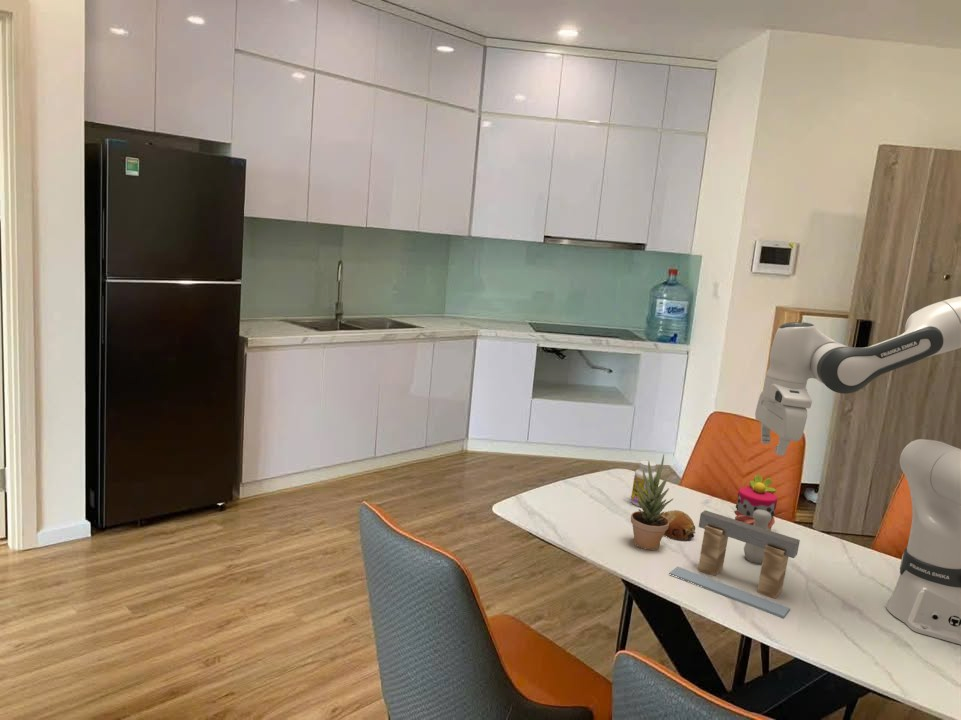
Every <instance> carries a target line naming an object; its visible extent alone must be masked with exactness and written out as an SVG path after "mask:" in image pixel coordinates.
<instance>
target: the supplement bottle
mask: <svg viewBox="0 0 961 720" xmlns="http://www.w3.org/2000/svg"><path fill="white" fill-rule="evenodd" d="M648 461H649V463H650V467H651V472H652V476H653V482H654V477H656V476H655V474H657V471H655V470H656V469H657V468H656V467H657V464H656V462H654V461H652V460H640V461H639V465H638V466H639V468H638V469H636V470H635V471H634V477H633V485H632V490H631V497H630V503H631V504H633V505H634V506H636V507H639V508H641V507H640V505H639V504H638V502H637V501H636V500H638V501H639V500H640V497H639V495H638V492H637V490H636V487H637V489H638V486H637V484H638V485H639V487H640V488H641V489H642V490H643V492H644V491H645V493H646V495H647V491H646V487H645V483H644V478H643V470H644V473H645V475H646V478H647V481H648V483H649V486H650V482H649V473H648ZM638 491H639V489H638ZM639 493H640V491H639ZM640 495H641V493H640ZM641 497H642V495H641ZM642 499H643V500H644V498H643V497H642ZM640 501H641V500H640ZM644 501H645V500H644ZM641 502H642V501H641Z"/></svg>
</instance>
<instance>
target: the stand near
mask: <svg viewBox="0 0 961 720" xmlns="http://www.w3.org/2000/svg"><path fill="white" fill-rule="evenodd" d="M784 552H785V551H783V550H780V549H777V548H774V547H771V546H768V545H766V546H765V551H764V556H763V562H762V563H761V566H760V567H761V568H760V573H759V574H760V575H759V580H758V584H757V589H756V592H757V593H758V594H761V595H764V596H767V597H770V598H772V599H776V598H777V597H778V596H779V594H780V593H781V592H782V591H783V587H784V584H785V583H784V582H785V578H786V572H787V566H788V560H789V557H788V556H785V555H784Z"/></svg>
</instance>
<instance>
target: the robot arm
mask: <svg viewBox="0 0 961 720" xmlns="http://www.w3.org/2000/svg"><path fill="white" fill-rule="evenodd" d="M776 330H777V331H776V333H775V335H774V338H773V341H772V345H771V348H770V353H769V367H768V370H767V371H766V374H765V378H764V384H763V388H762V391H761V393H760V394H759V397H758V401H757V404H756V408H755V414H754V417H755V420H757V421H759V422H760V432H761V433H760V435H761V436H760V442H761V443H762V444H766V445H769V444H770V443H771V439H772V437H771V431H772V432H773V433H774V434H776V435H778V436H779V437H778V444H777V445H775V450H774V454H776V455H777V456H781V457H783V456H785V455H786V451H787V449H788V447H789V446H790V444H791V441H792V442H799V441H800V440H801V439H802V437H803V435H804V431H805V428H806V423H807V418H808V409H810V408H811V407H812V405H813V404H812V403H813V401H812V398H811V396H810V394H809V392H808V389H807V383H808V380H809V379H814V380H817V381H818V382H820V383H822V384H823V385H824V386H826V388H827V389H829V390H831V391H832V392H835V393H838V394H852V393H856V392H857V391H860V390H861V389H863V388H865V387H866V386H867V385H868V384H870V383H871V382H872V381H873V380H875V379H877V378H878V377H880V376H881V375H883V374H887V373H888V372H892V371H894V370H896V369H897V370H898V369H900V368H902V367H905V366H907V365H910V364H913V363H916V362H918V361H921V360H924V359H926V358H929V357H932V356H937V355H941V354H944V353H947V352H952V351H955V350H957V349H961V295H960V296H956V297H952V298H948V299H944V300H941V301H938V302H935V303H932V304H929V305H927V306H924V307H922V308H920V309H919V310H916V311H915V312H913V313H911V314H910V315H909V317H908V318H907V320H906V323H905V326H904V332H903V333H902V334H900V335H897V336H895V337H892V338H888V339H886V340H884V341H880V342H878V343H875V344H872V345H869V346H865V347H854V346H853V347H852V346H849V345H845V344H843V343H840V342H838V341H836V340H834V339H832V338H831V337H829V336H827V335H826V334H825V333H823V332H822V331H820V330H819V329H818V328H817V327H816V326H815V324H813V323H810V322H806V321H805V322H804V321H803V322H801V321H799V322H797V321H795V322H793V321H792V322H787V323H783V324H782V325H779V327H778V328H777V329H776ZM899 456H900V457H899V466H900V469H901V471H902V473H903V474H904V476H905V479H906V480H907V484H908V488H909V491H910V498H911V507H912V509H911V510H912V519H911V520H912V521H911V526H910V531H909V537H908V543H907V546H906V547H905V549H904V551H903V553H902V556H901V560H900V565H899V576H898V580H897V582H896V585H895V587H894V588H893V589H894V590H893V592H892V594H891V596H890V597H889V599H888V600H887V602H886V604H885V607H886V609H887V611H888V613H890V614H891V615H892V616H894V617H895V618H897V619H898V620H900V621H901V622H903V623H904V624H906V626H907V627H909V629H910V630H912V631H913V632H916V633H917V634H922V635H925V636H929V637H932V638H936V639H939V640H943V641H946V642H950V643H953V644H956V645H957V644H958V645H960V646H961V448H959V447H956V446H953V445H951V444H948V443H946V442H943V441H940V440H933V439H925V438H924V439H923V438H918V439H915V440H912V441H910V442H909V443H908V444H907V445H906V446H904V448H903V449H902V451H901V453H900V455H899Z"/></svg>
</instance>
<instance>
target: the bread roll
mask: <svg viewBox="0 0 961 720" xmlns="http://www.w3.org/2000/svg"><path fill="white" fill-rule="evenodd" d="M662 516H664V517H666V518H667V519H668V520H669V527H668V529H667V530H666V531H665V533H664V535H665V537H666V536H667V537H666V538H668V537H669V538H668V539H672V540H677V541H689V539H690V540H692V539H693V538H694V536H695V534H696V525H695V523H694V521H693V519H692V517H690V516H689V514H687V512H686V513H685V512H684V511H681V510H677V509H675V510H674V509H673V510H668V511H664V513H663V514H662ZM664 535H663V536H664Z"/></svg>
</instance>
